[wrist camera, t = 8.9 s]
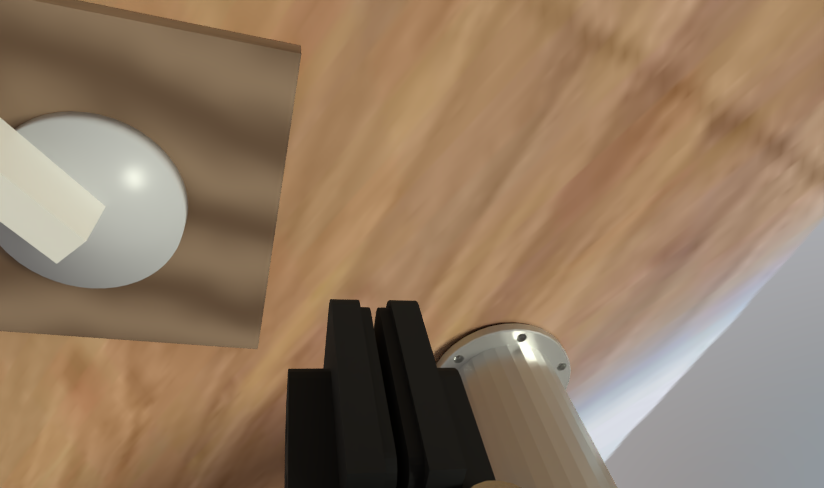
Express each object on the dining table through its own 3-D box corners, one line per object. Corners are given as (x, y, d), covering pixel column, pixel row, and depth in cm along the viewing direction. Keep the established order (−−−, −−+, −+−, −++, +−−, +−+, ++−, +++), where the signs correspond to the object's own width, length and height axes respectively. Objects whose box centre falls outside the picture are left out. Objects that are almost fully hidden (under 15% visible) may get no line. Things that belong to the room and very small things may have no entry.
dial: (225, 210, 39) (216, 258, 34) (101, 302, 41) (75, 361, 36) (-28, -34, 30) (-91, -17, 25) (-173, 99, 32) (-258, 140, 27)
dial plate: (258, 332, 47) (257, 350, 45) (-75, 306, 41) (-92, 326, 39) (300, 45, 36) (301, 54, 35) (-137, -43, 31) (-165, -38, 29)
